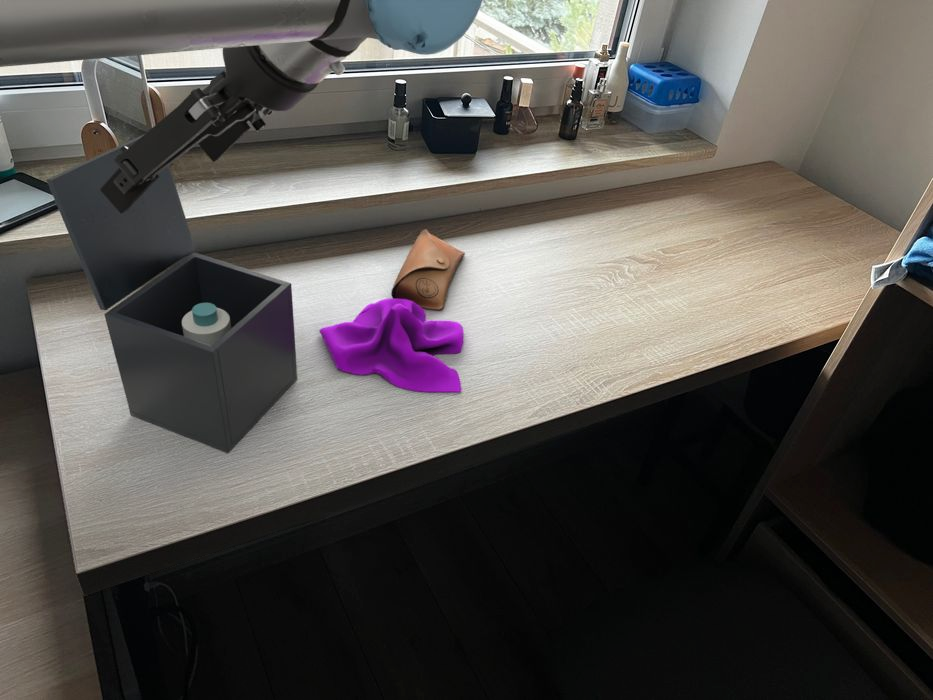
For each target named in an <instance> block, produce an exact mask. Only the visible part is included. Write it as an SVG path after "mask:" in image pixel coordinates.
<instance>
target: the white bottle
mask: <svg viewBox="0 0 933 700" xmlns="http://www.w3.org/2000/svg"><path fill="white" fill-rule="evenodd" d="M182 328H183V334H184V337H186V338H189V339H192V340H195V341H198V342H200V343H203V344H206V345H209V346H212V345H213V344H214V343H215V342H216V341H218V340H219V339H220V338H221V337H222V336H223V335H224V334H226V333H227V332H228V331H229V330H230V329H231V323H230V317H229V315H228V313H227V312H226V311H224V310H222V309H220V308H216V306H215V305H214V304H211V303H200V304H197V305H195V306H194V307H193V309H192V311H190V312H188V313H187V314H186V315H185V316H184V317H183V319H182Z"/></svg>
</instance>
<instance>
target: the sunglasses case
mask: <svg viewBox="0 0 933 700" xmlns="http://www.w3.org/2000/svg"><path fill="white" fill-rule="evenodd" d="M465 254H466V252H465V251H462V250H460V249H458V248H456V247H454V246H452V245H450V244H449V243H447V242H445V241H444V240H442V239H440V238H439V237H437V236H435V235H433V234H431V233H430V232H429V231H428V229H423V230H421V231H420V233H419V234H418V236H417V238H416V240H415V241H414V243H413V245H412V246H411V248H410V251H409V252H408V254H407V256H406V258H405V260H404V262H403V264H402V266H401V267H400V269H399V272H398V274H397V277H396V279H395V281H394V284H393V287H392V289H391V299H407V300H410V301H413V302H415V303H416V304H417V305H418V306H420V307H421V308H422V309H423V310H433V311H439V310H443V309H444V308H445V305H446V300H447V294H448V291H449V288H450V285H451V283H452V280H453V277H454V275H455V273H456V271H457V268H458V266H459V265H460V263H461V261H462V260H463V258H464V256H465Z"/></svg>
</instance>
